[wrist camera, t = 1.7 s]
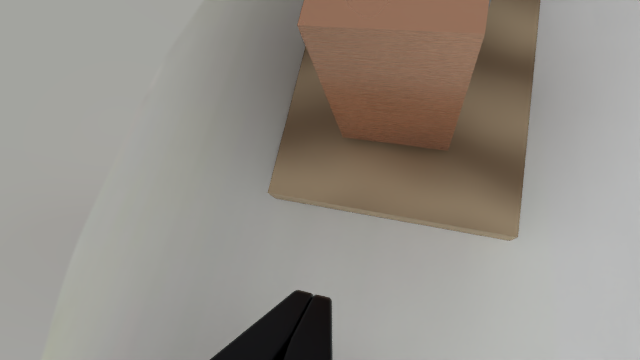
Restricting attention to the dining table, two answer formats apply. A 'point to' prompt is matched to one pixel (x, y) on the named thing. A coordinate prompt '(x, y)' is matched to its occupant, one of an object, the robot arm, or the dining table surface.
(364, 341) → the dining table surface
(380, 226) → the dining table surface
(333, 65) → the shaft
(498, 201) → the bearing base
